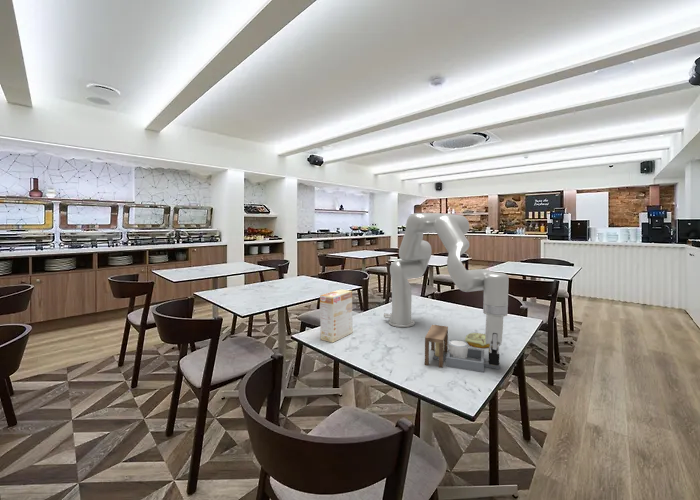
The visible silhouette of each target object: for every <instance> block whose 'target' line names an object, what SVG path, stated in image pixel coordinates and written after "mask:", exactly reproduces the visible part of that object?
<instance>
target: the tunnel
mask: <svg viewBox="0 0 700 500" xmlns="http://www.w3.org/2000/svg"><path fill="white" fill-rule="evenodd" d="M448 336H449V326H447V325H439V324H438V325H436V324H431V326H430V328H429V329H428V331H427V333H426V335H425V337H424V366H429V365H430V351H434V352H435V342H437V343H439V360H438V368H443V367H444V360H443V342H444V353H448V350H449V345H448V342H449V341H448V340H449V337H448Z"/></svg>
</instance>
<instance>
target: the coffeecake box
mask: <svg viewBox="0 0 700 500" xmlns="http://www.w3.org/2000/svg"><path fill="white" fill-rule="evenodd" d="M319 309H320V310H319V314H320V316H319V317H320V318H319V319H320V322H319V323H320V340H322V341H325V342H328V343H335V342H337V341H339V340H341V339H343V338H346V337H348V336H349V335H352V334H353V333H354V332H353V290H348V289H341V288H340V289H337V290H333V291H330V292H326V293H324V294H320V295H319Z"/></svg>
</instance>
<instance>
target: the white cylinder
mask: <svg viewBox="0 0 700 500" xmlns="http://www.w3.org/2000/svg"><path fill="white" fill-rule="evenodd" d="M469 346H470V345H469V344H468V343H467V342H466V341H465V340H464V341H463V340H460V339H453V340H452V339H451V340H449V341H448V350H449V352H450V357H452V358H459V359H466V360H468V357H467V353H468V348H469Z"/></svg>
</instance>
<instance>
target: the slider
mask: <svg viewBox="0 0 700 500" xmlns="http://www.w3.org/2000/svg"><path fill="white" fill-rule="evenodd" d="M492 347H493V346H492ZM491 351H492V350H491ZM489 352H490V347H488V353H489ZM467 358H474V359H479V360H480V361H478V360H471V359H467V360H466V359H459V358H452V357H450V352H449V349H448V352H446V354H445V352H444V342H443V362H444V361H445V367H450V368H456V369H462V370H467V371H468V370H469V371H474V372H481V373H484V372H485V368H490V369H495V370H496V369H498V370H501V364H500V362H499V365H491V364H489V360H485V350H484V349H481V348H473V347H472V348H471V347H468V353H467ZM432 359H433V360H438V361H439V343H437V342H435V350H434V353H433V356H432Z"/></svg>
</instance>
